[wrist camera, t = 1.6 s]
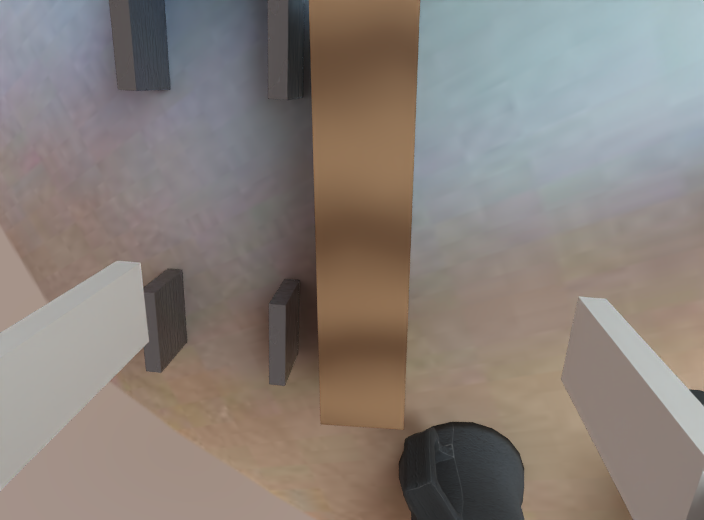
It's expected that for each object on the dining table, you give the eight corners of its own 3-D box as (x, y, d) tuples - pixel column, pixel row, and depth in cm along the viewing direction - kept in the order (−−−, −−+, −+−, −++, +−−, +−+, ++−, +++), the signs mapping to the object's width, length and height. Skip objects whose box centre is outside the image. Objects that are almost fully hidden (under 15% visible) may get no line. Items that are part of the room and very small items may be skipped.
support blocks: (168, 268, 34) (138, 291, 30) (299, 280, 33) (285, 305, 29) (173, 340, 36) (146, 371, 32) (298, 353, 35) (285, 385, 31)
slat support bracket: (142, -57, 28) (101, -78, 24) (305, -51, 27) (288, -72, 23) (154, 88, 30) (117, 89, 26) (302, 97, 29) (287, 99, 26)
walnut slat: (335, -4, 28) (307, -35, 20) (417, -6, 27) (421, -39, 20) (339, 350, 35) (320, 424, 27) (404, 354, 35) (403, 429, 27)
